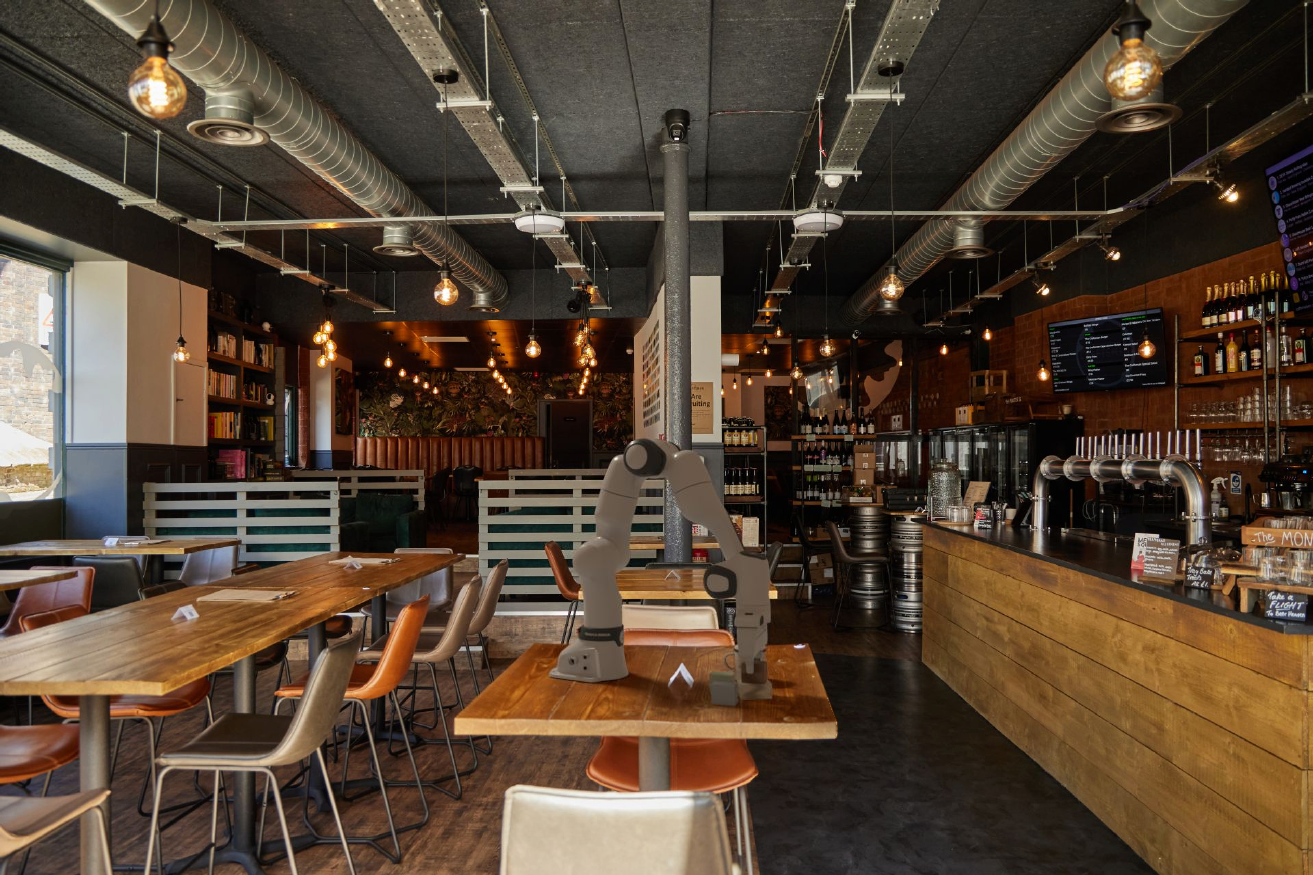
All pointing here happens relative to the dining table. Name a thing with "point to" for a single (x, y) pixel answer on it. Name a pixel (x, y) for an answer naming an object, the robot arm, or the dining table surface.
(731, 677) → the sage block
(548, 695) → the dining table surface
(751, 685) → the maple block
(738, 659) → the teacup with lid
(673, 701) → the dining table surface
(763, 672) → the walnut block
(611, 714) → the dining table surface
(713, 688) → the grey block
